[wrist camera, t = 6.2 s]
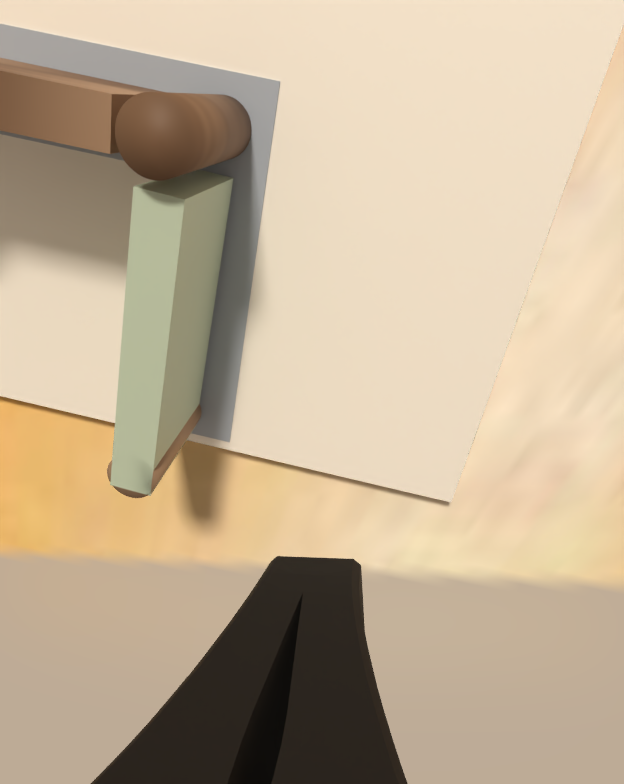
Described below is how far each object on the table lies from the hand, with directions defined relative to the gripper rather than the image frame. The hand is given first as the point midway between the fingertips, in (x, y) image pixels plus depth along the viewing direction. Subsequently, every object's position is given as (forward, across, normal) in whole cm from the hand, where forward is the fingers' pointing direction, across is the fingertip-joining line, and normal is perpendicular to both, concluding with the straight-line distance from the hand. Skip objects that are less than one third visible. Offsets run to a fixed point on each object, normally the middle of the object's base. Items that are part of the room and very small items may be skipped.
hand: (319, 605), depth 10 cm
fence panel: (+7, +4, -3) cm, 9 cm away
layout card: (+8, +3, -7) cm, 11 cm away
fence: (+8, +6, -8) cm, 13 cm away
